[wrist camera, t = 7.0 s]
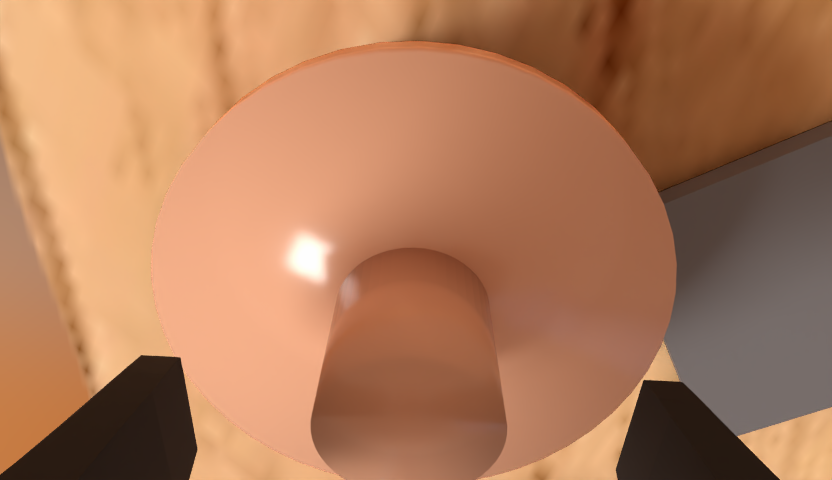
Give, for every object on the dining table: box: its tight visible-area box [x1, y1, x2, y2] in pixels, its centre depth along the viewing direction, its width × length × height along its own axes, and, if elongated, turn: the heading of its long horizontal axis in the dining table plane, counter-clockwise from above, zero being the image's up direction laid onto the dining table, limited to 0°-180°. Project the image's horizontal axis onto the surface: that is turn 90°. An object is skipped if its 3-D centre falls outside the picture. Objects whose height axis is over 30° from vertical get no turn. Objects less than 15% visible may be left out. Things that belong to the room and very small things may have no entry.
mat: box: [659, 121, 832, 436], centre depth 17 cm, size 9×9×1 cm
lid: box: [151, 41, 677, 480], centre depth 11 cm, size 10×10×4 cm
